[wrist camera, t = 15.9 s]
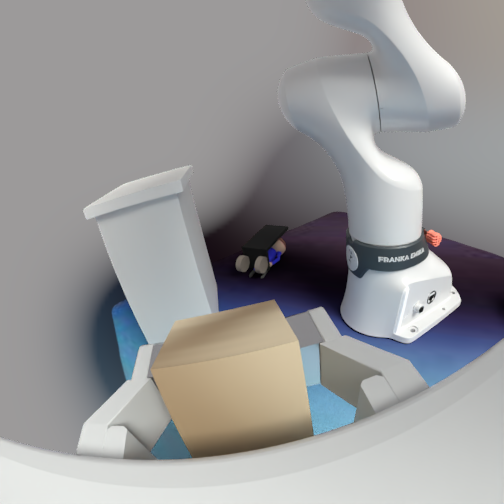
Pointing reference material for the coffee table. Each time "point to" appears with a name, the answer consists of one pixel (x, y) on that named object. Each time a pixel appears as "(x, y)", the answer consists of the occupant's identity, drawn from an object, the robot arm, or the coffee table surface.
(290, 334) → the beech bar
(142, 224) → the pedestal
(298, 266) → the coffee table surface
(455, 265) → the coffee table surface
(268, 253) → the figurine character
